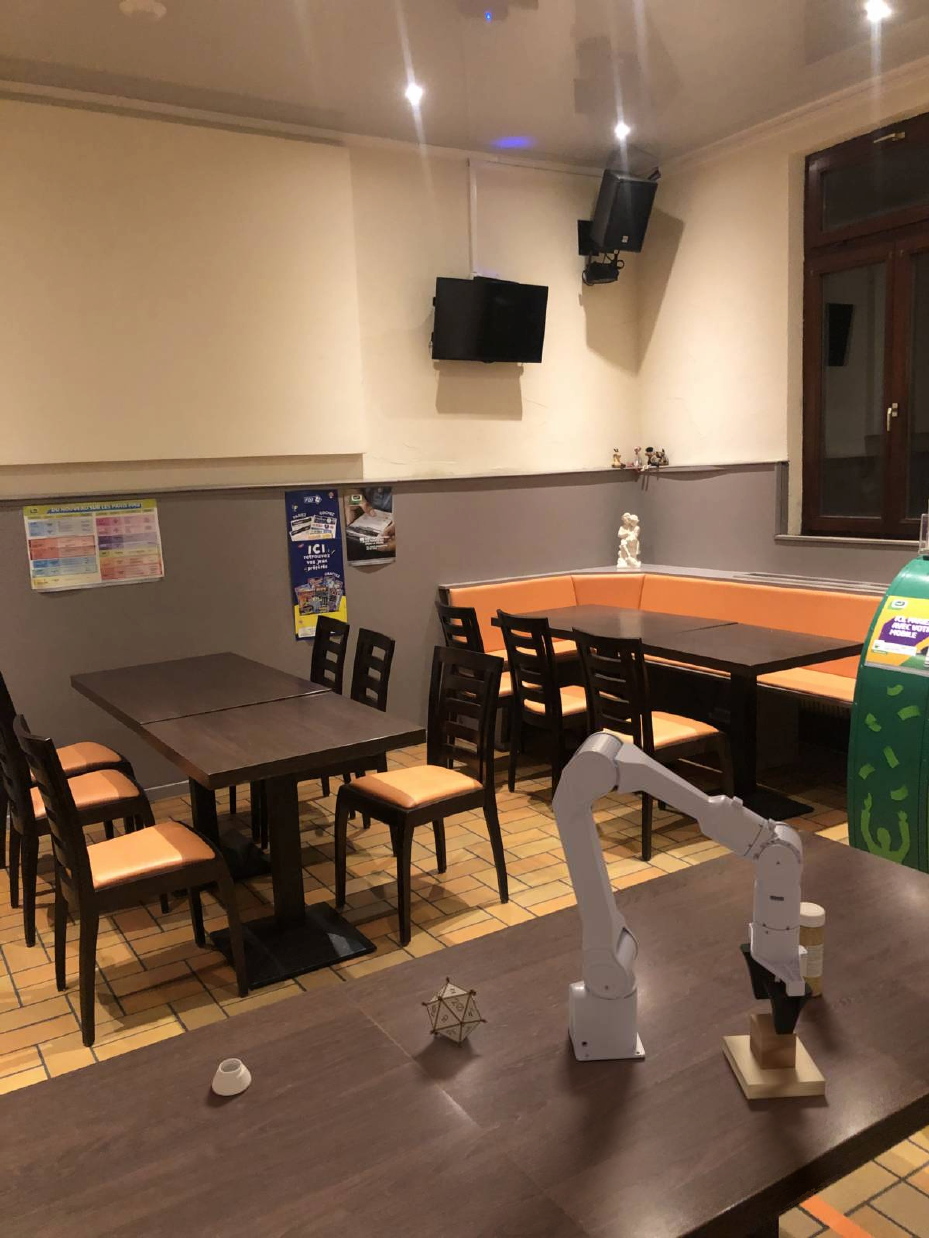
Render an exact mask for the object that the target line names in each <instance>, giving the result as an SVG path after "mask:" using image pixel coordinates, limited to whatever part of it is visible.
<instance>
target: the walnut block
mask: <svg viewBox="0 0 929 1238" xmlns="http://www.w3.org/2000/svg"><path fill="white" fill-rule="evenodd" d="M749 1014H750V1016H749V1019H750V1020H749V1021H750V1023H749V1035H750V1050H751V1052H752V1053H753V1055H754V1057H755V1059H756V1061H757V1063H758V1064H759V1066H760V1068H761V1070H766V1069H784V1068H795V1066H796V1036H797V1032H796V1031H797V1030H795V1029H794V1032H793V1034H783V1035H778V1034H777V1033H776V1031H775V1028H774V1024H773V1014H772V1013H769V1012H768V1013H755V1014H753V1013H752V1014H751V1013H749ZM797 1037H798V1036H797Z"/></svg>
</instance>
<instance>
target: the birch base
mask: <svg viewBox="0 0 929 1238" xmlns="http://www.w3.org/2000/svg"><path fill="white" fill-rule="evenodd" d="M722 1041H723V1042H722V1050H723V1052H724V1055H725V1056H726V1058H727V1061H728V1062H729V1064H730V1067H731V1069H732V1071H733V1072H734V1075H735V1076H736V1078H737V1080H738V1082H739V1085H740V1086H741V1088H742V1090H743V1093H744V1094H745V1096H746V1098H747V1100H752V1099H771V1098H786V1097H787V1098H789V1097H804V1096H806V1097H808V1096H823V1095H825V1094H826V1079H825V1078H824V1076H823V1075H822V1073H821V1071H820V1070H819V1068H818V1067H817V1065H816V1064H815V1062H814V1060H813V1059H812V1057H811V1056H810V1054H809V1053H808V1051H807V1050H806V1048H805V1047H804V1045H803V1043H802V1041H801V1040H800V1039H799V1037H798V1036H796V1066H795V1068H784V1069H766V1070H761V1068H760V1066H759V1064H758V1063H757V1061H756V1059H755V1057H754V1055H753V1053H752V1052H751V1050H750V1034H748V1035H745V1034H744V1035H732V1036H731V1035H730V1036H729V1035H727V1036H723V1038H722Z"/></svg>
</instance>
